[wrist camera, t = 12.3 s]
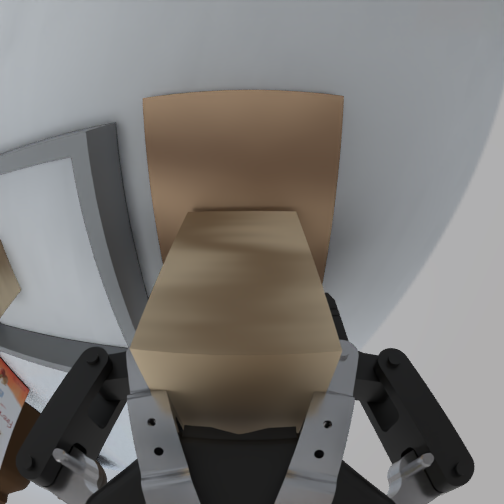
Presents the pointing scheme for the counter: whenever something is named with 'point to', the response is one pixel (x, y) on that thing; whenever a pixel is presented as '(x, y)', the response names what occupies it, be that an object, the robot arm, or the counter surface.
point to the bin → (100, 236)
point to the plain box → (7, 282)
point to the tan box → (238, 323)
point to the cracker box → (9, 404)
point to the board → (245, 158)
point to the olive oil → (8, 475)
